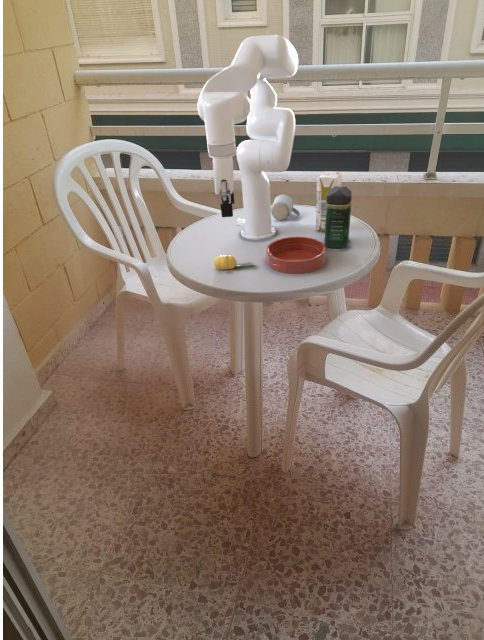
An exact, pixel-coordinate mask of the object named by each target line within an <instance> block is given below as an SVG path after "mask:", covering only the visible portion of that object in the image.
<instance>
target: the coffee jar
mask: <svg viewBox="0 0 484 640" xmlns="http://www.w3.org/2000/svg"><path fill="white" fill-rule="evenodd" d="M352 194H353V193H352V190H351V189H349V188H348V187H347V186H342V187H339V186H335V187H334V188H332V189H330V190H329V191H328V193H327V196H326V197H327V198H326V220H325V231H324V242H323V244H324V245H325V247H326V248H327V249H333V250H340V249H346V248H347V246H348V244H349V239H350V238H349V237H350V227H351V226H350V225H351V213H352V198H353V197H352V196H353V195H352Z"/></svg>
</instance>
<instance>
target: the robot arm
mask: <svg viewBox="0 0 484 640" xmlns="http://www.w3.org/2000/svg"><path fill="white" fill-rule="evenodd" d="M298 65H299V57H298V53H297V51H296V48H295V47H294V46H293V44H292V43H291V42H290V41H289V40H288V39H287V38H285V37H284V36H283V35H279V34H267V35H266V34H265V35H252V36H248V37H246V38H245V39H244V40H242V42H241V44H240V46H239V48H238V50H237V52H236V54H235V57H234V59H233V60H232V62H231V64H230V65H229V66H227V67H225V68H224V69H222V70H220V71H219V72H217V73H215V74H214V75H213V76H211V77H210V78H209V79H208V80H207V81H206V82H205V84H204V86H203V88H202V90H201V92H200V94H199V97H198V101H197V113H198V115H199V118H200V120H202V121H203V122H204V126H205V127H204V128H205V135H206V144H207V151H208V152H207V153H208V157H209V158H211V159H212V170H213V171H212V172H213V178H214V179H213V181H214V192H215V195H216V196H219V195H220V215H221V218H232V217H234V210H233V205H234V204H235V195H234V194H235V193H234V186H235V185H234V184H235V174H234V173H235V172H234V160H233V157H235V156H236V160H237V165H238V169H239V174H240V180H241V181H240V182H241V193H242V207H243V218H237V219H236V223H235V226H236V227H241V230H240V235H241V237H242V238H244V239H247V240H255V241H256V240H257V241H259V240H265V239H269V238H272V237H274V236H275V235H276V233H277V229H276V227H275V226H274V225H272V212H271V208H272V206H271V205H272V204H271V185H270V180H269V178H268V177H267V174H265V173H283V172H286V171H287V170H288V168H289V166H290V162H291V158H292V151H293V146H294V140H295V133H296V118H295V117H296V116H295V114H294V112H293V110H291V109H290V108H286V107H285V108H284V107H277V102H278V97H277V93H276V92H275V90H274V88H273V87H272V86H271V84H270V83H269V82H268V81H267V79H289V78H292V77H294V75H296V73H297V70H298ZM248 91H250V98H249V97H248V95H247V94H246V92H248ZM245 121H246V134H247V136H248V137H249V138H250V139H248V140H244V141H241V143H239V144H238V146H237V147H236V145H237V144H236V136H235V135H236V134H235V125H237V124H240V123H243V122H245Z"/></svg>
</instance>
